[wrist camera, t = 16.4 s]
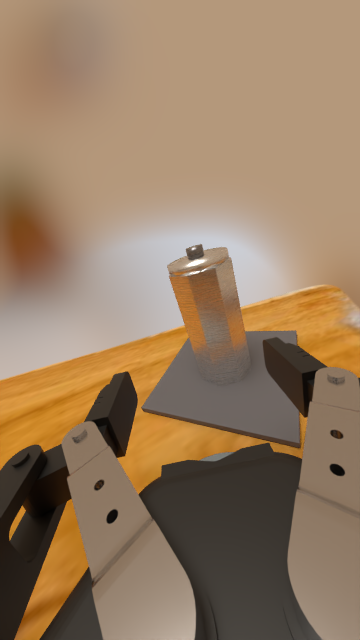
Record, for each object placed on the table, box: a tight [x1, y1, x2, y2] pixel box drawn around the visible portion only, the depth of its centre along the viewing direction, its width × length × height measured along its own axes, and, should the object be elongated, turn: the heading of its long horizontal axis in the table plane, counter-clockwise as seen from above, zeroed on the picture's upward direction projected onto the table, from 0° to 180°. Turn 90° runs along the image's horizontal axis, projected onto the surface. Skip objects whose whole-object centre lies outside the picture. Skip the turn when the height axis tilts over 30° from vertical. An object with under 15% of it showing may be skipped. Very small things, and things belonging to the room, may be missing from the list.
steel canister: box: [167, 244, 252, 386], centre depth 23 cm, size 6×6×15 cm
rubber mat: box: [142, 331, 300, 448], centre depth 26 cm, size 16×16×1 cm
